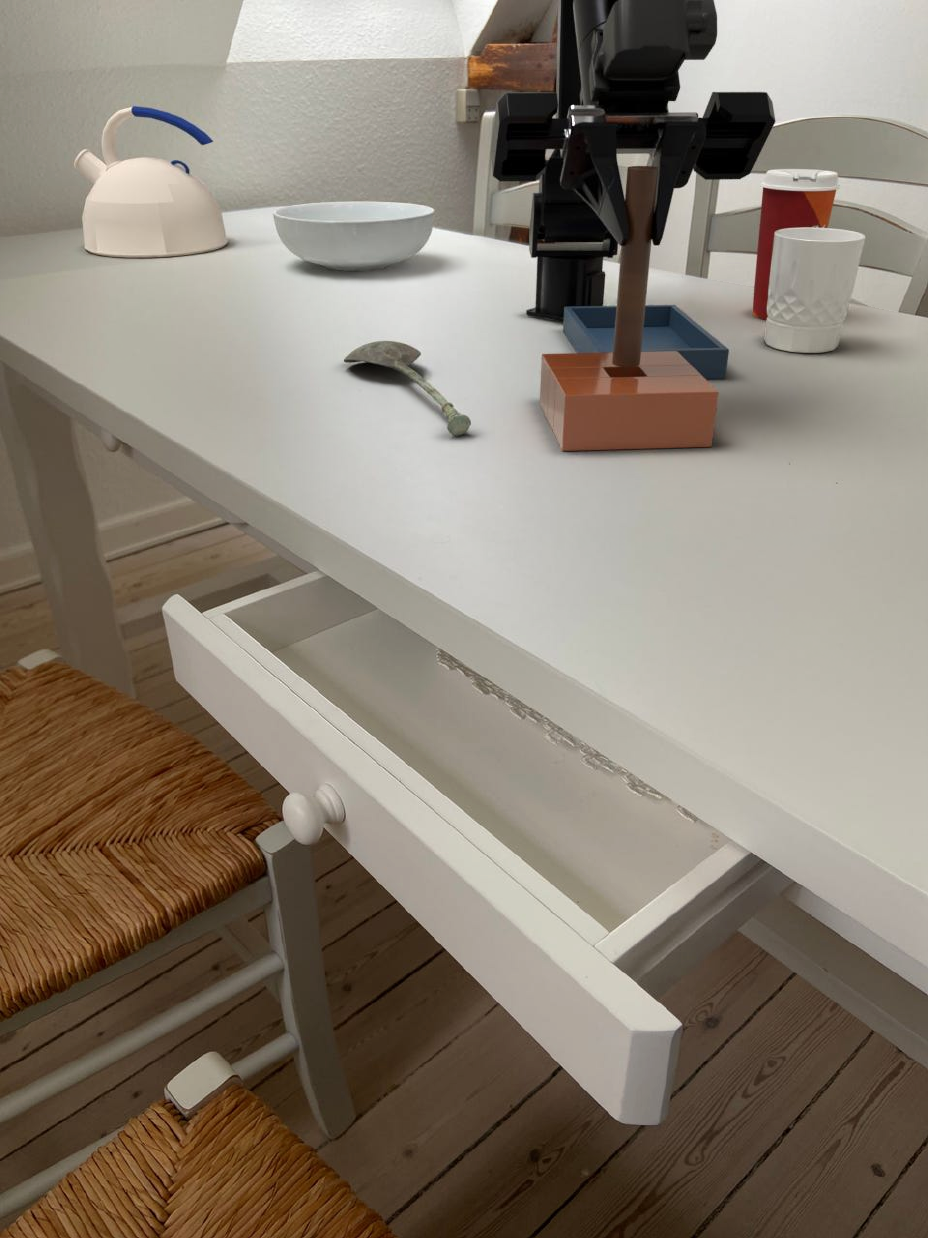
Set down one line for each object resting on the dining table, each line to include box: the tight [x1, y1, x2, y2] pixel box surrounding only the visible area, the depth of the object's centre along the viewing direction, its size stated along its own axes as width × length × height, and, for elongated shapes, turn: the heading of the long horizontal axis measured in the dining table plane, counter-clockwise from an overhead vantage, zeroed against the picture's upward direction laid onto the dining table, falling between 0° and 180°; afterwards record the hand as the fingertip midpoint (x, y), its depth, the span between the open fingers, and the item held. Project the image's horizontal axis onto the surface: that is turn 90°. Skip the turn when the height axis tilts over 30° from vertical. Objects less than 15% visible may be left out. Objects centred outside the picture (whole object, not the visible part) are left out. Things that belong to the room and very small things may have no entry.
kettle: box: [73, 105, 229, 259], centre depth 137 cm, size 20×21×18 cm
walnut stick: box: [612, 165, 658, 367], centre depth 67 cm, size 2×2×13 cm
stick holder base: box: [539, 351, 719, 452], centre depth 72 cm, size 11×11×4 cm
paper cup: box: [752, 168, 841, 321], centre depth 100 cm, size 8×8×14 cm
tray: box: [562, 304, 730, 380], centre depth 89 cm, size 17×11×2 cm, turn 5°
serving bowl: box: [272, 201, 436, 272], centre depth 127 cm, size 21×21×7 cm
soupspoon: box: [343, 340, 472, 436], centre depth 78 cm, size 22×3×7 cm
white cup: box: [763, 227, 866, 354], centre depth 90 cm, size 8×8×10 cm
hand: (641, 241), depth 65 cm, fingers closed on walnut stick, 2 cm apart
